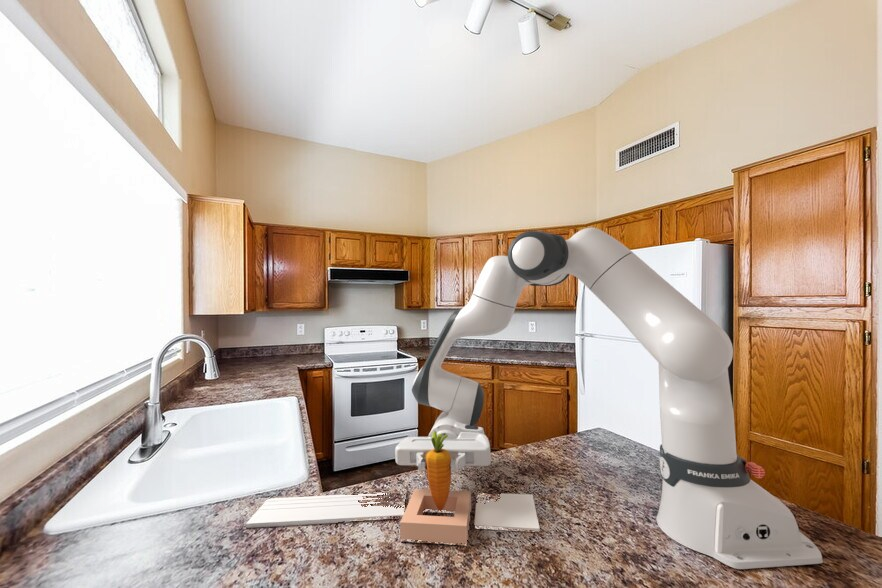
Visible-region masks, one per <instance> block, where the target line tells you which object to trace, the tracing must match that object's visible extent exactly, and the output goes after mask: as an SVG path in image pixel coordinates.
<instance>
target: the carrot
mask: <svg viewBox="0 0 882 588" xmlns="http://www.w3.org/2000/svg"><path fill="white" fill-rule="evenodd" d="M447 436H448V435H444V436H443V437H442V434H441V433H439V434H438V436H437V433H436V431H434V432H433V436H432V437H431V440H432V444H433V446H434V449H432V450H431V451H429V452H428V453H427V454H426V469H427V470H426V478H427V483H428V487H429V488H428V489H430V492H431V495H432V498H433V500H434V503H435V505H436V506H437V508H438V510H440V511H441V510H442V509H443V508H444V506H445V504H446V501H447V498H448V495H449V490H451V489H450V488H451V481H452V472H451V456H450V454H449V453H448V451H447V450H445V449H442V447H443V446H444V444H442V443H443V441H444V439H445V438H446V437H447ZM441 437H442V439H441Z"/></svg>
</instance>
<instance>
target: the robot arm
mask: <svg viewBox="0 0 882 588" xmlns="http://www.w3.org/2000/svg"><path fill="white" fill-rule="evenodd" d="M570 275H571V276H574V277H576V279H578V280H579V281H580V282H581V283H582V284H584V286H585V287H586V288H587V289H588V290H589V291H590V292H591V293H592V294H594V295H595V297H596V298H597V299H598V300H600V302H601V303H603V304H604V306H606V307H607V309H609V310H610V312H612V313H613V314H614V316H616V317H617V318H618V319H619V321H620V322H621V323H622V324H623V325H624V326H625V328H627V330H628V331H629V332H630V334H631V335H632V336H634V338H635V339H636V340H637V341H638V342H639V343H640V345H641V346H642V347H644V349H645V350H646V351H647V352H648V353H649V354H650V356H651V357H653V359H655V361H656V362H657V363H658V389H659V393H658V394H659V416H660V417H659V418H660V429H661V430H660V433H661V444H660V445H659V470H660V475H661V479H662V485H661V486H662V488H661V497H660V502H659V503H660V504H659V508H658V511H657V515H656V523H657V525H658V527H659V528H660V529H661V531H662V532H663V533H664V534H666V535H667V536H668V537H669V538H670V539H672V540H674V541H675V542H677V543H678V544H680V545H682V546H684V547H686V548H689V549H690V550H693V551H695V552H697V553H701V554H704V555H707V556H709V557H711V558H712V559H715V560H717V561H719V562H721V563H722V564H724V565H726V566H728V567H731V568H732V569H736V570H749V569H750V570H751V569H761V568H776V567H787V566H788V567H791V566H805V565H819V564H822V563H824V560H823V559H824V558H823V555H822V553H821V551H820V549H819V547H818V546H816V544H815V543H814V542H813V541H812V540H811V539H809V538H808V536H806V535H805V534H803V533H802V532H801V531H800V529H799V525H798V522H797V521H796V518H795V516H794V514H793V513H792V511H791V510H790V508H789V507H787V506H786V504H785V503H784V502H782V501H781V500H779V499H778V498H777V497H775V496H774V495H773V494H771V492H769V491H767V490H766V489H765V488H763V487H762V486H760V485H759V484H758V483H757V482H755V481H754V480H752V479H751V478H750V477H751V476H750V475H752V476H753V477H755V478H756V479H762V478H764V476H765V475H766V471H765V469H764V468H763V467H762V466H761V465H759V464H757V463H755V462H753V461H748V460H746V459H745V458H744V457H741V456H739V455H738V454H737V441H736V440H737V439H736V428H735V427H736V425H735V414H734V413H735V412H734V407H733V401H732V393H731V384H730V376H729V367H730V365H731V363H732V360H733V357H734V348H733V343H732V341H731V339H730V336H729V335H728V334H727V332H726V331H725V330H724V329H723V328H722V327H721V326H720V325H719V324H717V322H715V321H714V320H712V319H711V318H710V317H709V315H707V314H705V313H704V312H703V311H702V310H701V309H700V308H698V306H696V305H695V304H694V303H693V302H691V301H690V300H689V299H688V298H687V297H685V296H684V295H683V294H682V293H681V292H679V291H678V290H677V289H676V288H675V287H674V286H673V285H671V284H670V283H669V282H668V281H666V280H665V279H664V278H663V277H662V276H661V275H659V274H658V273H657V272H656V270H654V269H653V268H652V267H651V266H650V265H648V263H646V262H645V261H644V260H643V259H642V258H640V257H639V256H638V255H636V253H634V252H633V250H631V249H630V248H628V247H627V246H626V245H625V244H623V243H622V242H620V241H619V240H617V239H616V238H615V237H614V236H611V235H610V234H608V233H607V232H605V231H603V230H601V229H599V228H597V227H593V226H592V227H585V228H582V229H580V230H579V231H577V232H575V233H574V234H572V236H571V237H569V238H568V239H565V237H564V236H562V235H560V234H555V233H550V232H545V231H540V230H528V231H525V232H522V233H520V234H518V235H517V236H516V237H515V238H514V239H513V240H512V241H511V243H510V245H509V247H508V250H507V255H495V256H492V257H490V258H489V259H488V260H486V262H485V264H484V266H483V268H482V270H481V272H480V274H479V275H478V278H477V280H476V283H475V284H474V288H473V290H472V293H471V297H470V298H469V300H468V302H467V303H466V304H465V305H464V307H463V308H461V309H455V310H454V311H453V312H452V313H451V315H450V316H449V317H448V319H447V321H446V323H445V325H444V326H443V328H442V330H441V331H440V334H439V335H438V337H437V339H436V341H435V343H434V344H433V347H432V349H431V351H430V353H429V355H428V356H427V358H426V360H425V362H424V364H423V365H422V367H421V368H420V370H419V371H418V372H417V373H416V375H415V377H414V379H413V382H412V386H411V392H412V395H413V397H414V399H415V400H416V402H417V404H418V405H423V406H427V407H432V408H434V409H437V410H440V411H442V412H441V413H440V414H439V415H438V417H437V418H436V419H435V422H434V424H433V426H432V428H431V430H430V432H429V433H428V436H407V437H405V438H404V439H402V440H401V441H400V442H398V444H396V446H395V449H394V455H395V456H394V458H395V459H394V460H395V463H396V464H397V465H399V466H416V467H417V471H418V472H427V469H426V454H427V453H428V452H429V451H431V450H432V449H434V446H433V444H432V440H431V437H432V436H433V432H434V431H436V433H437V436H438V434H439V433H441V434H442V437H443V436H444V435H448V436H447V437H446V438H445V439H444V441H443V443H442V444H444V446H443V447H442V449H445V450H447V451H448V453H449V454H450V456H451V473H453V472H454V473H458V472H459V471H460V469H461V468H463V467H488V466H491V463H492V455H491V445H490V440H489V438H488V437H487V435H486V434H485V431H484V427H481V426H476V425H477V424H478V422H479V420H480V418H481V415H482V411H483V408H484V401H485V392H484V388H483V386H482V385H481V384H480V382H478V381H476V380H472V379H470V378H467V377H465V376H461V375H459V374H456V373H453V372H450V371H447V370H446V369H444V368H443V367H442V365H443V363H444V360H445V358H446V357H447V355H448V353H449V351H450V350H451V348H452V346H453V344H454V342H455V341H456V340H458V339H461V338H466V337H481V336H483V337H485V336H492V335H495V334H499V333H500V332H502V331H504V330H505V329H506V328H507V327H508V326H509V324H510V322H511V320H512V318H513V315H514V313H515V311H516V308H517V304H518V301H519V298H520V296H521V293H522V291H524V289H525V288H526V287H527V286H533V287H537V286H538V287H539V286H540V287H552V286H557V285H560V284H561V283H563V282H565V281H566V280H567V279H568V278H569V276H570ZM442 437H441V439H442ZM747 461H748V462H747Z"/></svg>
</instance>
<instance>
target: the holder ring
mask: <svg viewBox="0 0 882 588" xmlns="http://www.w3.org/2000/svg"><path fill="white" fill-rule="evenodd" d="M410 496H411V497H410V499H409V501H408V503H407V504H406V507H405V512H404V515H403V517H402V519H400V522H399V524H400V525H399V526H400V527H399V528H400V540H401V539H412V540H422V541H430V542H445V543H467V540H468V541H469V535H468V530H469V531H470V526H469V521H470V522H471V516H470V512H471V513H472V491H471V490H455V489H454V490H451V489H450V490H449V495H448V498H447V501H446V504H445V506H444V508H443V509H442V510H446V511H455V514H453V516H444V515H443V516H442V515H440V516H438V515H427V514H426V515H425V514H424V515H422V514H423V511H424V509H432V510H438V508H437V506H436V505H435V503H434V500H433V498H432V495H431V492H430V488H428V489H427V488H425V489H424V488H414V489H413V492H412V494H411V495H410Z"/></svg>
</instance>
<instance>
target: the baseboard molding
mask: <svg viewBox="0 0 882 588" xmlns="http://www.w3.org/2000/svg"><path fill="white" fill-rule="evenodd" d="M405 491H408V487H406V489H405ZM376 493H377V494H363V493H357V494H358V495H345V494H331V495H329V494H328V495H312V496H310V495H308V496H293V497H276V498H275V497H273V498H271V497H270V498H267V499H266V500H265V501H264V502H263V503H262V505H261V506H260V507H259V508H258V509H257V510H256V511H255V512H254V514H252V516H251V517H250V518H249V520H248V521H247V522H246V523H245V528H246V529H252V528H270V527H271V528H272V527H286V526H288V527H289V526H290V527H291V526H303V525H307V526H308V525H309V526H310V525H325V524H339V523H338V522H342V521H347V520H355V519H362V518H376V517H377V518H378V517H387V516H388V517H390V516H403V515H404V511H405V510H406V507H405V505H403V506H404V508H402V507H403V506H402V507H401V508H399V507H400V506H399V507H398V508H397V509H396V507H397V506H396V507H395V508H394V507H392V506H391V507H390V505H389V506H388V507H387V506H386V507H385V506H384V507H383V506H371V505H370V504H375V503H376V504H377V503H380V502H367V503H359V502H358V500H361V501H362V500H372V499H378V498H367V499H363V497H362V496H377V495H383V494H384V495H385V493H382V492H376ZM386 495H387V493H386ZM389 498H390V497H389ZM379 499H380V498H379ZM381 499H382V498H381ZM405 499H406V500H407V498H406V494H405ZM387 502H388V501H387ZM361 504H369V505H368V506H367V505H366V506H367V507H364V506H363V507H362V506H361ZM394 506H395V505H394Z"/></svg>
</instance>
